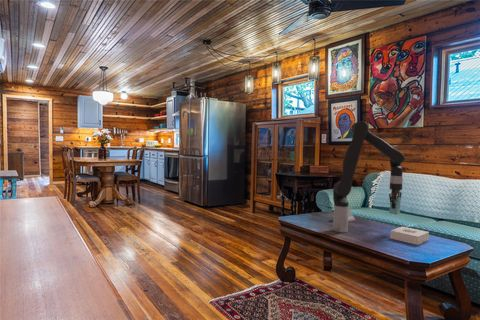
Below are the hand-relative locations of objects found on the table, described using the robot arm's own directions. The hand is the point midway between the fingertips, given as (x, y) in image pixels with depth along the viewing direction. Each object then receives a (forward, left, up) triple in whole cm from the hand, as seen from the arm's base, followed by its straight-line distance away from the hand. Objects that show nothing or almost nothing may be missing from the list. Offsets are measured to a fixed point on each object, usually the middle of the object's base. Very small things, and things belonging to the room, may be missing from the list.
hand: (394, 207), depth 208 cm
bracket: (0, 0, -4) cm, 4 cm away
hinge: (+4, +39, -17) cm, 43 cm away
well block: (-8, -13, -17) cm, 22 cm away
